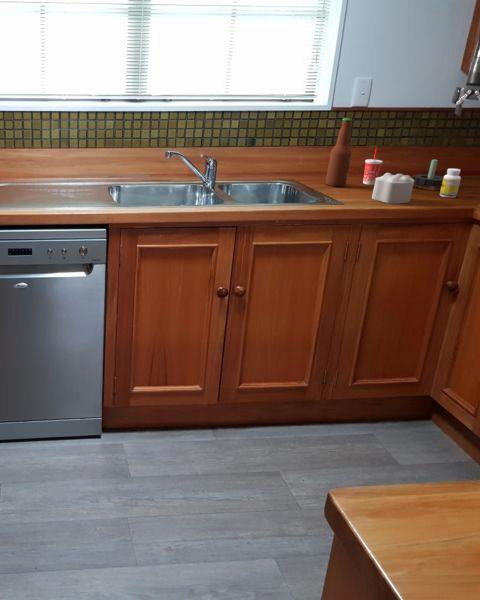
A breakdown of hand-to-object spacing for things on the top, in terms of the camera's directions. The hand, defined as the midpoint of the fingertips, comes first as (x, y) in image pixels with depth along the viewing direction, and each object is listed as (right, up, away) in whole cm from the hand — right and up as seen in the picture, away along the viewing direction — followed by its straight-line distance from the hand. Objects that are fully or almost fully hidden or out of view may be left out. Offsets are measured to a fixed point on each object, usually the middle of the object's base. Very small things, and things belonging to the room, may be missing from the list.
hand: (469, 116), depth 229 cm
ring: (-12, -24, +6) cm, 28 cm away
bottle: (-48, -25, +7) cm, 54 cm away
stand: (-12, -26, +6) cm, 29 cm away
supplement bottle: (-13, -32, -8) cm, 35 cm away
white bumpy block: (-36, -34, -14) cm, 51 cm away
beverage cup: (-33, -23, +11) cm, 42 cm away
